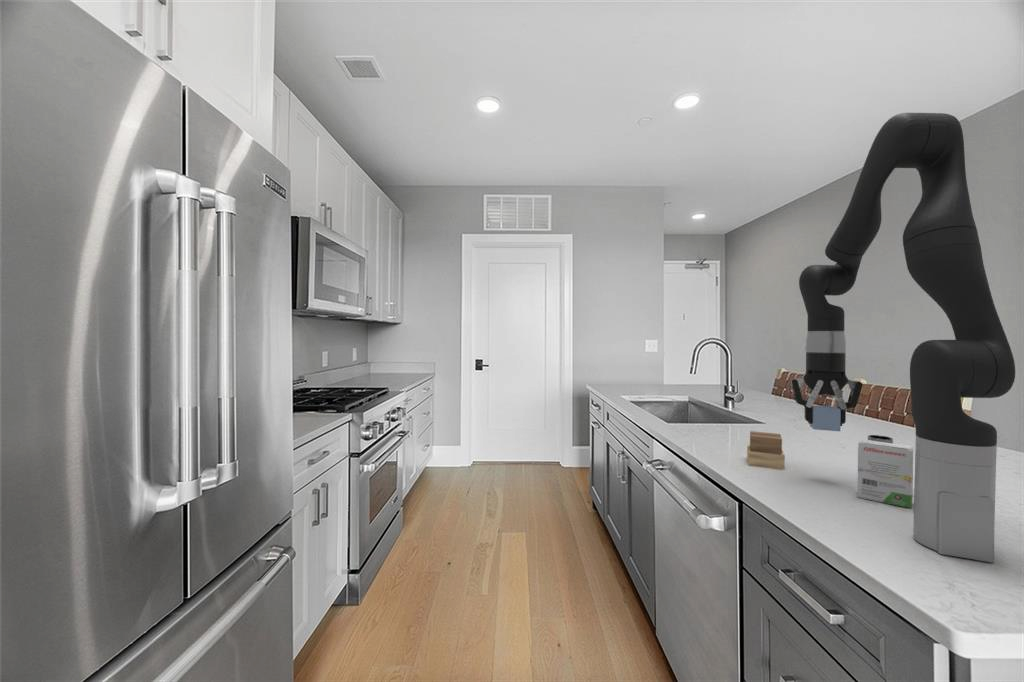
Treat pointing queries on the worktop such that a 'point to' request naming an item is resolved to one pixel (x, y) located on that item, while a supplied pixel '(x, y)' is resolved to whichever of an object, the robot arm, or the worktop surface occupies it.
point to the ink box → (885, 472)
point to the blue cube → (826, 418)
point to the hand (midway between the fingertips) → (824, 424)
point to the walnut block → (765, 442)
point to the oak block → (765, 459)
